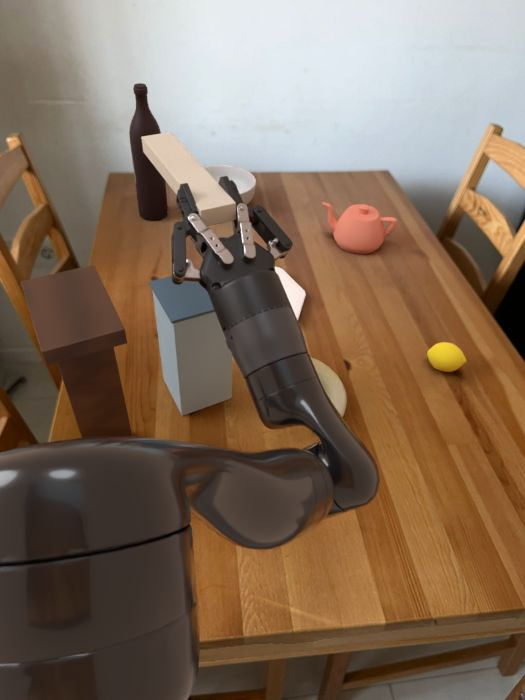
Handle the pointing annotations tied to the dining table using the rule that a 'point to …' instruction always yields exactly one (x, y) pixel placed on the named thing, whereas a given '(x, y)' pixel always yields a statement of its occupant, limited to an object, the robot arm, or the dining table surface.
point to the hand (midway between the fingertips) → (202, 184)
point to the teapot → (359, 228)
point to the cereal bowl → (235, 179)
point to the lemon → (446, 357)
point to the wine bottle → (146, 160)
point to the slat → (189, 177)
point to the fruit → (331, 385)
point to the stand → (82, 346)
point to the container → (191, 345)
